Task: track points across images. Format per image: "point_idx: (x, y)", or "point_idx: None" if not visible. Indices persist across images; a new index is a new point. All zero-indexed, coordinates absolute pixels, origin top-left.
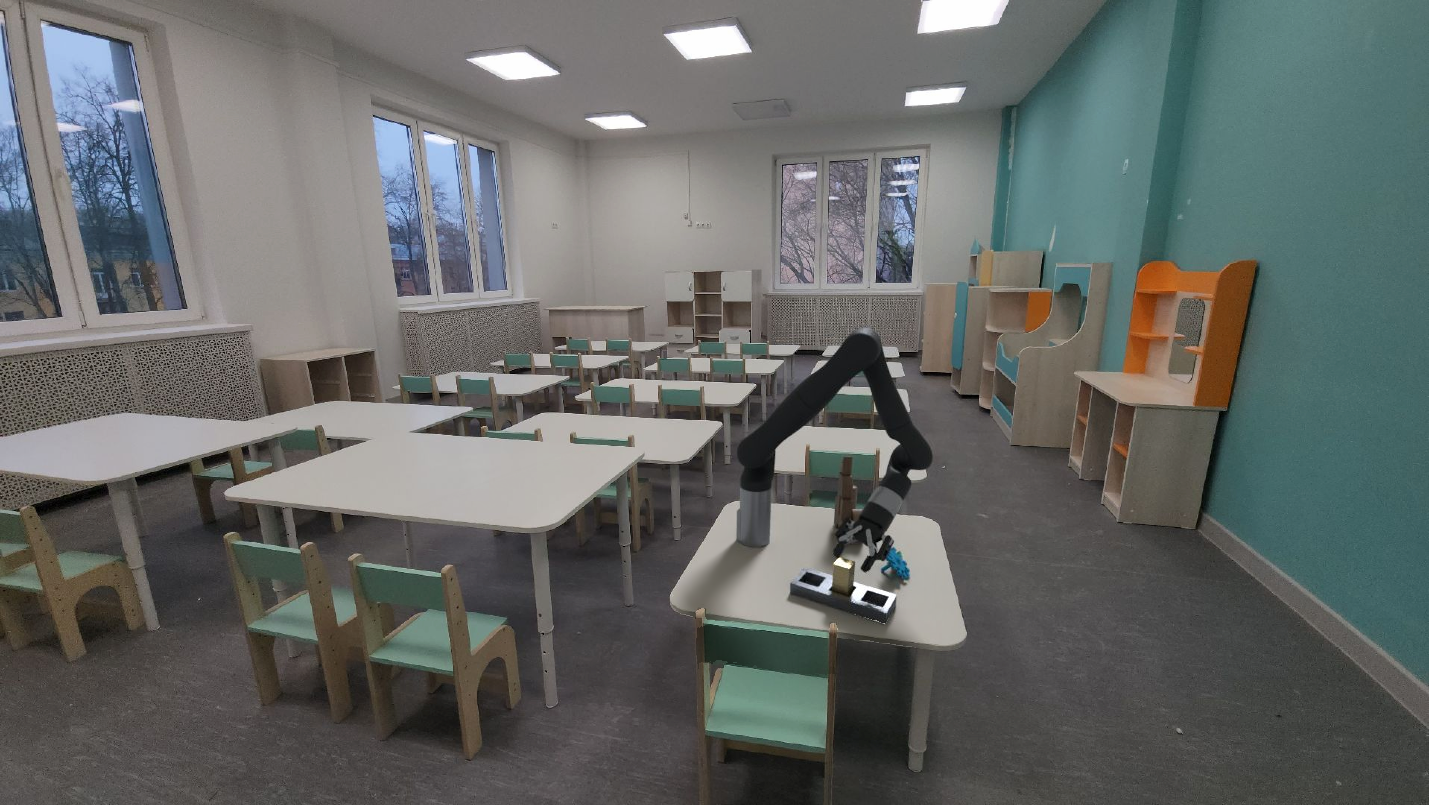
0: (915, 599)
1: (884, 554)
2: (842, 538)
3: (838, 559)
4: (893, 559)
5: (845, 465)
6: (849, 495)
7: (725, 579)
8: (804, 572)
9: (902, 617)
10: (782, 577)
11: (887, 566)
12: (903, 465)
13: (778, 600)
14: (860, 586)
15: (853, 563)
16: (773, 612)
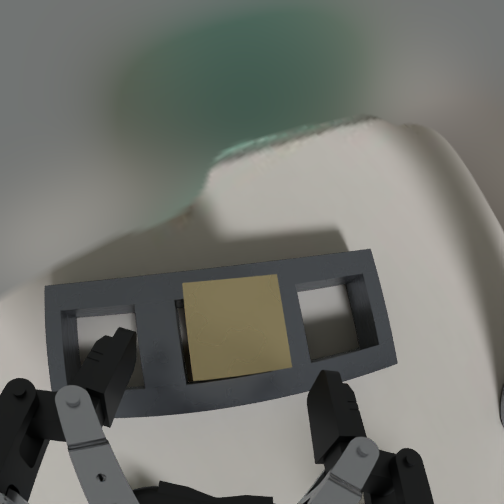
0: (52, 472)
1: (24, 444)
2: (359, 457)
3: (282, 336)
4: None
5: None
6: None
7: (462, 219)
8: (380, 334)
9: (38, 361)
10: (412, 317)
11: None
12: None
13: (351, 215)
14: (177, 396)
15: (191, 354)
16: (324, 168)
